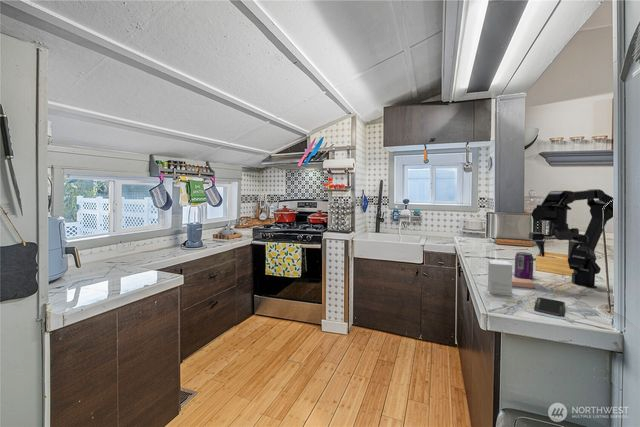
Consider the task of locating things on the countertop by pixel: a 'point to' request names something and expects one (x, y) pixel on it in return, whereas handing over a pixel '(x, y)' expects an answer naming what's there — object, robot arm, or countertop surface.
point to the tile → (522, 283)
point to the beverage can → (524, 265)
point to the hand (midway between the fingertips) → (556, 257)
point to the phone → (550, 306)
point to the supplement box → (500, 277)
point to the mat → (537, 288)
